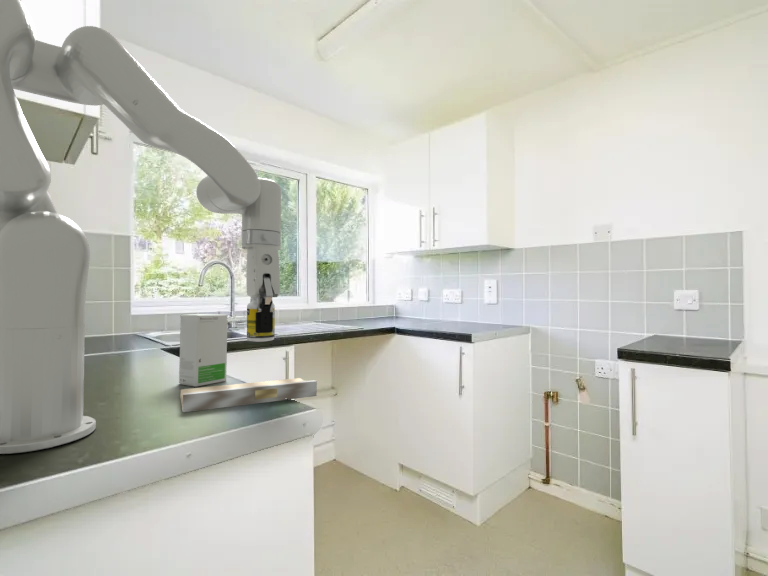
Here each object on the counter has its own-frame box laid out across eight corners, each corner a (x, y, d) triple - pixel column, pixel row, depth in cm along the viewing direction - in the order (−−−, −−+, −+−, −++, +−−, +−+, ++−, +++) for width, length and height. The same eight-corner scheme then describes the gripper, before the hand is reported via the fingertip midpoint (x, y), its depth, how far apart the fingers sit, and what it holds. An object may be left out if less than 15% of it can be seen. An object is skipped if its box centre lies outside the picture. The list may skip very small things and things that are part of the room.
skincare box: (195, 387, 85) (196, 315, 85) (176, 384, 89) (178, 314, 89) (228, 380, 93) (229, 313, 93) (209, 377, 96) (210, 312, 96)
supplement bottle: (241, 340, 80) (241, 291, 80) (264, 337, 84) (264, 291, 84) (256, 342, 77) (256, 291, 77) (280, 340, 81) (280, 291, 81)
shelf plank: (182, 412, 68) (183, 395, 68) (180, 397, 78) (180, 381, 78) (317, 396, 79) (317, 381, 79) (300, 384, 89) (300, 371, 89)
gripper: (291, 238, 75) (290, 334, 75) (270, 246, 90) (269, 326, 90) (250, 235, 71) (249, 336, 71) (235, 244, 86) (234, 328, 86)
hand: (260, 330), depth 80 cm, fingers closed on supplement bottle, 5 cm apart
